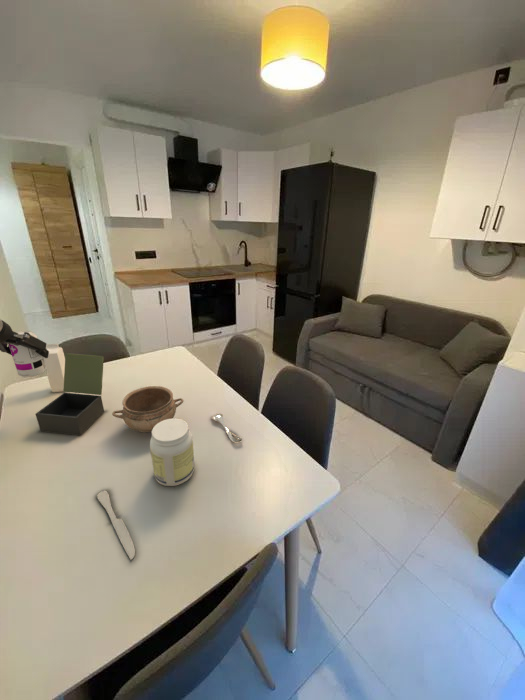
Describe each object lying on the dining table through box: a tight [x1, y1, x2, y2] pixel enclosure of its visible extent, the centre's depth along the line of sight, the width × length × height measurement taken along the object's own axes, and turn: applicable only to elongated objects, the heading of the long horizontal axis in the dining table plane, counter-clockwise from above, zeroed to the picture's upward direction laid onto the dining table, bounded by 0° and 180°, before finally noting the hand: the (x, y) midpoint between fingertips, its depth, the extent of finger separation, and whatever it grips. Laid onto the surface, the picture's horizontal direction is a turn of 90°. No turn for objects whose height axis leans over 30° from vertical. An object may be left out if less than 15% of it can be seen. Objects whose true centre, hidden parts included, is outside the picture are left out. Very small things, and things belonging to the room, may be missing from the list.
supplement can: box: [7, 330, 46, 378], centre depth 103 cm, size 8×8×15 cm
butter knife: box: [96, 490, 136, 560], centre depth 75 cm, size 1×24×3 cm
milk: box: [43, 343, 65, 393], centre depth 128 cm, size 6×6×22 cm
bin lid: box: [62, 352, 105, 396], centre depth 115 cm, size 15×15×1 cm
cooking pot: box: [111, 385, 184, 433], centre depth 109 cm, size 25×19×12 cm
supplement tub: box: [149, 417, 196, 487], centre depth 88 cm, size 12×12×17 cm
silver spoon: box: [210, 412, 243, 443], centre depth 110 cm, size 20×4×5 cm
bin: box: [35, 392, 105, 436], centre depth 110 cm, size 14×15×8 cm
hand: (33, 355), depth 107 cm, fingers closed on supplement can, 8 cm apart
